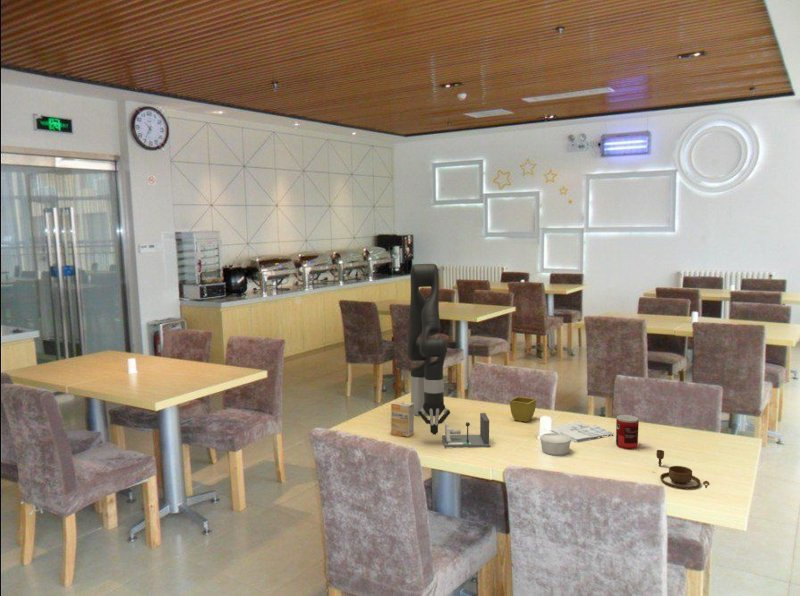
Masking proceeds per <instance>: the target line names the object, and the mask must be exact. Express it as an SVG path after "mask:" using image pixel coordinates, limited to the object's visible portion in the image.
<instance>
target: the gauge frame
mask: <svg viewBox="0 0 800 596" xmlns="http://www.w3.org/2000/svg"><path fill="white" fill-rule="evenodd" d="M479 418H480V419H479V421H480V422H479V423H480V424H479V430H480V432H479V434H468V440H469V443H467V442H466V440H467V434H450V439H451V443H449V442H447V440H446V437H445V434H442V435H441V439H443V440H442V444H443V443H444V444H443V446H444V447H468V448H490V446H491V445H490V419H489V418H488V415H487V414H486V412H480V415H479Z"/></svg>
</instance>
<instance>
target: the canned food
mask: <svg viewBox="0 0 800 596" xmlns="http://www.w3.org/2000/svg"><path fill="white" fill-rule="evenodd" d="M615 422H616V425H615V428H616V429H615V444H616V446H617V448H620V449H622V448H623V450H637V448H638V446H639V424H640V423H639V418H638V417H636V416H634V415H630V414H619V415H617V416H616V421H615Z"/></svg>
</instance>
